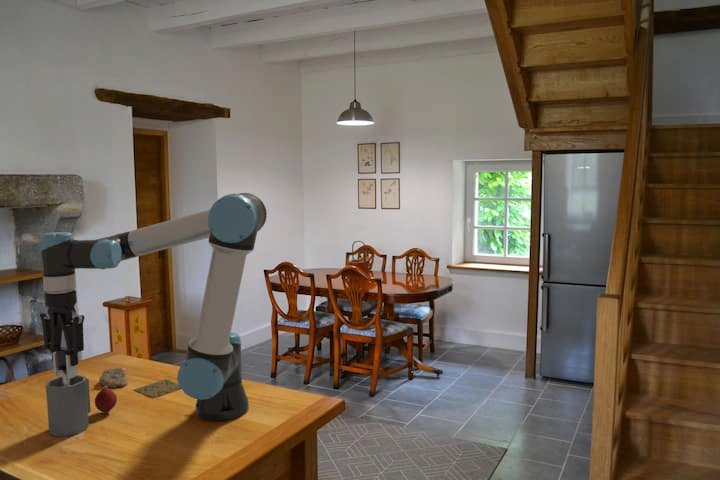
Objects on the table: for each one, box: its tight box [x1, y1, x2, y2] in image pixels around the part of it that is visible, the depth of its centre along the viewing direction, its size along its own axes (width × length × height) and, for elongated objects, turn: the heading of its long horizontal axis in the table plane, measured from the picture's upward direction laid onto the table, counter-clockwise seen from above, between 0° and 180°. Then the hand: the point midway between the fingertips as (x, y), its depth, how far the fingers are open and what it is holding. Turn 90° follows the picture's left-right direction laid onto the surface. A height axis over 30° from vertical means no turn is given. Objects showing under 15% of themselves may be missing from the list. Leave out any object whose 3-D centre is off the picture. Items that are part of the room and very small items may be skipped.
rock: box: [98, 367, 129, 388], centre depth 189 cm, size 9×6×10 cm
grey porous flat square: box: [132, 379, 182, 400], centre depth 185 cm, size 12×12×1 cm
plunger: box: [56, 346, 70, 386], centre depth 154 cm, size 7×7×19 cm
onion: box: [94, 385, 118, 414], centre depth 165 cm, size 6×6×8 cm
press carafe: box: [45, 374, 92, 438], centre depth 156 cm, size 9×11×14 cm
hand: (65, 375), depth 154 cm, fingers closed on plunger, 4 cm apart
